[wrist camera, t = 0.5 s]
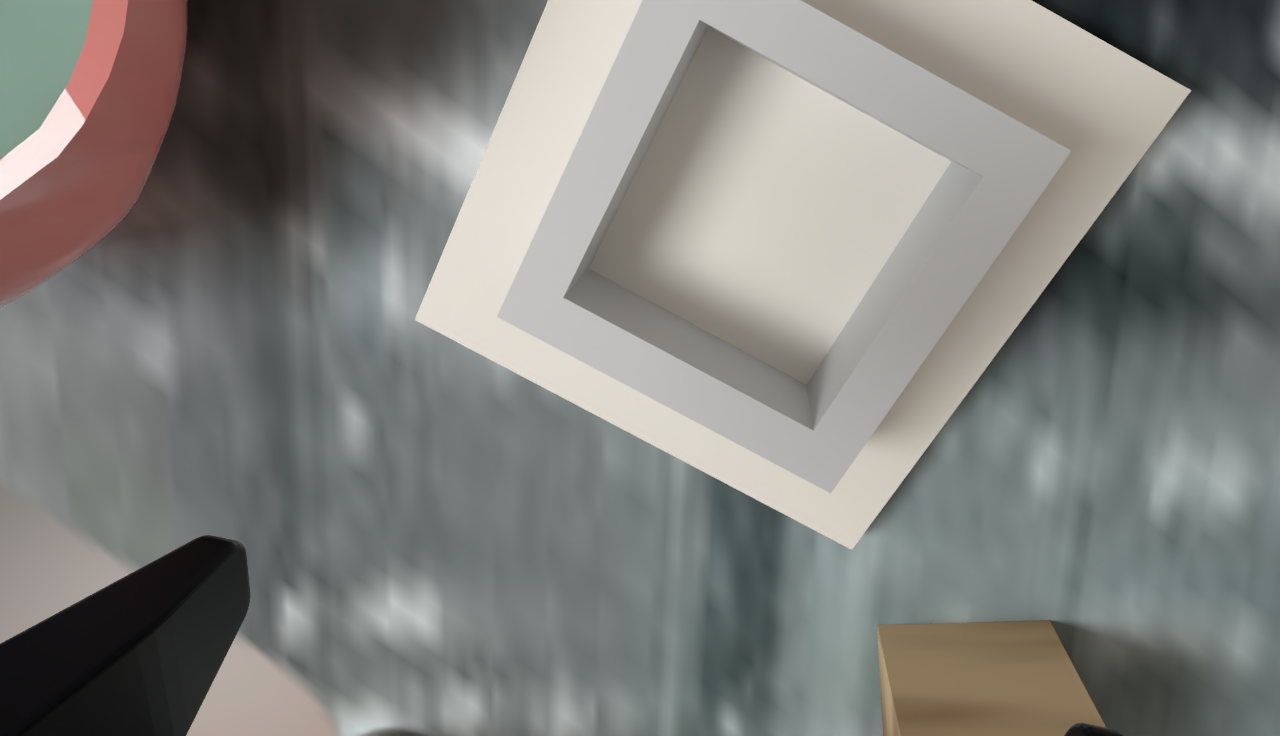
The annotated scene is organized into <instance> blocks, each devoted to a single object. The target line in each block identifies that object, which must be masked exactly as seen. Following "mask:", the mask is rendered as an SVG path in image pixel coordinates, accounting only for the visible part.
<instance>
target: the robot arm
mask: <svg viewBox="0 0 1280 736" xmlns="http://www.w3.org/2000/svg"><path fill="white" fill-rule="evenodd" d="M249 603H250V586H249V576H248V566H247V556H246V550H245V547H244V546H243V545H242V543H240V542H238V541H235V540H230V539H225V538H221V537H216V536H210V535H206V536H202V537H198V538H196V539H194V540H192V541H190V542H188V543H187V544H185V545H183V546H181V547H179V548H177V549H175V550H174V551H172V552H170V553H168V554H166V555H164V556H162V557H161V558H159V559H157V560H155V561H153V562H151V563H149V564H148V565H146V566H144V567H142V568H140V569H138V570H136V571H135V572H133V573H131V574H129V575H127V576H125V577H124V578H122V579H120V580H118V581H116V582H114V583H113V584H110V585H109V586H107V587H105V588H103V589H101V590H99V591H98V592H96V593H94V594H92V595H90V596H88V597H86V598H85V599H83V600H81V601H79V602H77V603H75V604H73V605H71V606H70V607H68V608H66V609H64V610H62V611H60V612H59V613H57V614H55V615H53V616H51V617H50V618H47V619H45V620H44V621H42V622H40V623H38V624H36V625H35V626H32V627H31V628H29V629H27V630H25V631H23V632H22V633H20V634H18V635H16V636H14V637H12V638H10V639H9V640H6V641H5V642H3V643H1V644H0V736H186V734H187V732H188V730H189V729H190V727H191V724H192V722H193V721H194V719H195V717H196V715H197V712H198V711H199V708H200V706H201V705H202V702H203V700H204V699H205V697H206V694H207V692H208V691H209V688H210V686H211V684H212V682H213V681H214V678H215V677H216V675H217V673H218V670H219V669H220V667H221V665H222V662H223V660H224V658H225V656H226V654H227V652H228V650H229V648H230V646H231V644H232V642H233V640H234V638H235V636H236V634H237V632H238V630H239V628H240V626H241V624H242V622H243V620H244V618H245V616H246V613H247V611H248V607H249ZM1064 736H1122V735H1121V734H1120V733H1118V732H1117V731H1115V730H1112V729H1109V728H1105V727H1100V726H1095V725H1091V724H1086V723H1077V724H1075V725H1073V726H1071V727H1070V728H1069V729H1068V731H1067V732H1066V733H1065V735H1064Z"/></svg>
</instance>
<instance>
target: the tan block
mask: <svg viewBox="0 0 1280 736" xmlns="http://www.w3.org/2000/svg"><path fill="white" fill-rule="evenodd" d="M877 630H878V649H879V667H880V686H881V705H882V723H883V736H1064V735H1065V733H1066V732H1067V731H1068V729H1069V728H1070V727H1071V726H1073V725H1075V724H1077V723H1086V724H1091V725H1095V726H1100V727H1105V728H1106V726H1105V724H1104V723H1103V721H1102V719H1101V717H1100V715H1099V713H1098V711H1097V709H1096V707H1095V705H1094V704H1093V702H1092V700H1091V698H1090V696H1089V694H1088V692H1087V690H1086V688H1085V687H1084V685H1083V683H1082V681H1081V679H1080V677H1079V675H1078V673H1077V671H1076V670H1075V668H1074V666H1073V664H1072V662H1071V660H1070V658H1069V656H1068V654H1067V652H1066V651H1065V649H1064V647H1063V645H1062V643H1061V641H1060V639H1059V637H1058V635H1057V634H1056V632H1055V630H1054V628H1053V626H1052V624H1051V622H1050V620H1040V621H1006V622H971V623H937V624H902V625H877Z"/></svg>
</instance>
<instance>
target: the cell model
mask: <svg viewBox="0 0 1280 736" xmlns="http://www.w3.org/2000/svg"><path fill="white" fill-rule="evenodd" d="M187 14H188V2H187V0H0V308H1V307H3V306H4V305H6V304H8V303H10V302H12V301H14V300H16V299H18V298H20V297H21V296H23V295H25V294H26V293H28V292H29V291H31V290H32V289H34V288H35V287H37V286H38V285H40V284H41V283H43V282H44V281H46V280H47V279H49V278H50V277H52V276H53V275H55V274H56V273H58V272H59V271H60V270H62V269H63V268H65V267H66V266H68V265H69V264H70V263H72V262H73V261H75V260H76V259H78V258H79V257H80V256H81V255H83V254H84V253H85V252H86V251H88V250H89V249H90V248H91V247H92V246H94V245H95V244H96V243H97V242H98V241H100V240H101V239H102V238H103V237H104V236H106V235H107V234H108V233H109V232H110V231H112V230H113V229H114V228H115V227H116V226H117V225H118V224H119V223H120V222H121V221H122V220H123V219H124V218H125V217H126V216H127V214H128V213H129V211H130V210H131V208H132V207H133V205H134V204H135V202H136V201H137V199H138V197H139V196H140V194H141V192H142V190H143V188H144V186H145V184H146V182H147V180H148V177H149V175H150V172H151V170H152V167H153V165H154V162H155V160H156V157H157V155H158V152H159V150H160V147H161V145H162V142H163V140H164V137H165V135H166V132H167V130H168V127H169V125H170V121H171V118H172V115H173V112H174V109H175V105H176V102H177V97H178V91H179V86H180V81H181V75H182V69H183V62H184V55H185V49H186V42H187Z"/></svg>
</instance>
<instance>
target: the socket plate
mask: <svg viewBox="0 0 1280 736" xmlns="http://www.w3.org/2000/svg"><path fill="white" fill-rule="evenodd" d="M1190 92H1191V90H1190V89H1188V88H1186V87H1184V86H1183V85H1181V84H1179V83H1177V82H1175V81H1174V80H1172V79H1170V78H1168V77H1167V76H1165V75H1163V74H1161V73H1159V72H1158V71H1156V70H1154V69H1152V68H1151V67H1149V66H1147V65H1145V64H1144V63H1142V62H1140V61H1138V60H1136V59H1135V58H1133V57H1131V56H1129V55H1128V54H1126V53H1124V52H1122V51H1120V50H1119V49H1117V48H1115V47H1113V46H1112V45H1110V44H1108V43H1106V42H1105V41H1103V40H1101V39H1099V38H1097V37H1096V36H1094V35H1092V34H1090V33H1089V32H1087V31H1085V30H1083V29H1081V28H1080V27H1078V26H1076V25H1074V24H1073V23H1071V22H1069V21H1067V20H1065V19H1064V18H1062V17H1060V16H1058V15H1057V14H1055V13H1053V12H1051V11H1050V10H1048V9H1046V8H1044V7H1042V6H1041V5H1039V4H1037V3H1035V2H1034V1H1032V0H548V2H547V4H546V7H545V9H544V12H543V14H542V16H541V19H540V21H539V24H538V26H537V28H536V31H535V33H534V35H533V38H532V40H531V43H530V45H529V47H528V50H527V52H526V55H525V57H524V59H523V62H522V64H521V67H520V69H519V71H518V74H517V76H516V79H515V81H514V83H513V86H512V88H511V91H510V93H509V95H508V98H507V100H506V103H505V105H504V107H503V110H502V112H501V114H500V117H499V119H498V122H497V124H496V126H495V129H494V131H493V134H492V136H491V138H490V141H489V143H488V146H487V148H486V150H485V153H484V155H483V158H482V160H481V162H480V165H479V167H478V170H477V172H476V174H475V177H474V179H473V182H472V184H471V186H470V189H469V191H468V193H467V196H466V198H465V201H464V203H463V205H462V208H461V210H460V213H459V215H458V217H457V220H456V222H455V225H454V227H453V229H452V232H451V234H450V237H449V239H448V241H447V244H446V246H445V249H444V251H443V253H442V256H441V258H440V261H439V263H438V265H437V268H436V270H435V272H434V275H433V277H432V280H431V282H430V284H429V287H428V289H427V292H426V294H425V296H424V299H423V301H422V304H421V306H420V308H419V311H418V313H417V316H416V318H415V320H416V321H418V322H420V323H422V324H424V325H426V326H428V327H430V328H431V329H433V330H435V331H437V332H439V333H441V334H443V335H445V336H447V337H449V338H450V339H452V340H454V341H456V342H458V343H460V344H462V345H464V346H466V347H468V348H469V349H471V350H473V351H475V352H477V353H479V354H481V355H483V356H485V357H486V358H488V359H490V360H492V361H494V362H496V363H498V364H500V365H502V366H504V367H505V368H507V369H509V370H511V371H513V372H515V373H517V374H519V375H521V376H523V377H524V378H526V379H528V380H530V381H532V382H534V383H536V384H538V385H540V386H542V387H543V388H545V389H547V390H549V391H551V392H553V393H555V394H557V395H559V396H561V397H562V398H564V399H566V400H568V401H570V402H572V403H574V404H576V405H578V406H580V407H581V408H583V409H585V410H587V411H589V412H591V413H593V414H595V415H597V416H599V417H600V418H602V419H604V420H606V421H608V422H610V423H612V424H614V425H616V426H618V427H619V428H621V429H623V430H625V431H627V432H629V433H631V434H633V435H635V436H637V437H638V438H640V439H642V440H644V441H646V442H648V443H650V444H652V445H654V446H656V447H657V448H659V449H661V450H663V451H665V452H667V453H669V454H671V455H673V456H675V457H676V458H678V459H680V460H682V461H684V462H686V463H688V464H690V465H692V466H694V467H695V468H697V469H699V470H701V471H703V472H705V473H707V474H709V475H711V476H713V477H714V478H716V479H718V480H720V481H722V482H724V483H726V484H728V485H730V486H732V487H733V488H735V489H737V490H739V491H741V492H743V493H745V494H747V495H749V496H751V497H752V498H754V499H756V500H758V501H760V502H762V503H764V504H766V505H768V506H770V507H771V508H773V509H775V510H777V511H779V512H781V513H783V514H785V515H787V516H789V517H790V518H792V519H794V520H796V521H798V522H800V523H802V524H804V525H806V526H808V527H809V528H811V529H813V530H815V531H817V532H819V533H821V534H823V535H825V536H827V537H828V538H830V539H832V540H834V541H836V542H838V543H840V544H842V545H844V546H846V547H847V548H849V549H851V550H852V549H853V548H854V546H855V545H856V544H857V542H858V541H859V539H860V538H861V537H862V535H863V534H864V533H865V531H866V530H867V529H868V527H869V526H870V525H871V523H872V522H873V521H874V519H875V518H876V516H877V515H878V514H879V512H880V511H881V510H882V508H883V507H884V506H885V504H886V503H887V502H888V500H889V499H890V498H891V496H892V495H893V493H894V492H895V491H896V489H897V488H898V487H899V485H900V484H901V483H902V481H903V480H904V479H905V477H906V476H907V475H908V473H909V472H910V470H911V469H912V468H913V466H914V465H915V464H916V462H917V461H918V460H919V458H920V457H921V456H922V454H923V453H924V452H925V450H926V449H927V447H928V446H929V445H930V443H931V442H932V441H933V439H934V438H935V437H936V435H937V434H938V433H939V431H940V430H941V429H942V427H943V426H944V424H945V423H946V422H947V420H948V419H949V418H950V416H951V415H952V414H953V412H954V411H955V410H956V408H957V407H958V406H959V404H960V403H961V401H962V400H963V399H964V397H965V396H966V395H967V393H968V392H969V391H970V389H971V388H972V387H973V385H974V384H975V383H976V381H977V380H978V378H979V377H980V376H981V374H982V373H983V372H984V370H985V369H986V368H987V366H988V365H989V364H990V362H991V361H992V360H993V358H994V357H995V355H996V354H997V353H998V351H999V350H1000V349H1001V347H1002V346H1003V345H1004V343H1005V342H1006V341H1007V339H1008V338H1009V337H1010V335H1011V334H1012V332H1013V331H1014V330H1015V328H1016V327H1017V326H1018V324H1019V323H1020V322H1021V320H1022V319H1023V318H1024V316H1025V315H1026V314H1027V312H1028V311H1029V309H1030V308H1031V307H1032V305H1033V304H1034V303H1035V301H1036V300H1037V299H1038V297H1039V296H1040V295H1041V293H1042V292H1043V291H1044V289H1045V288H1046V286H1047V285H1048V284H1049V282H1050V281H1051V280H1052V278H1053V277H1054V276H1055V274H1056V273H1057V272H1058V270H1059V269H1060V268H1061V266H1062V265H1063V263H1064V262H1065V261H1066V259H1067V258H1068V257H1069V255H1070V254H1071V253H1072V251H1073V250H1074V249H1075V247H1076V246H1077V245H1078V243H1079V242H1080V240H1081V239H1082V238H1083V236H1084V235H1085V234H1086V232H1087V231H1088V230H1089V228H1090V227H1091V226H1092V224H1093V223H1094V222H1095V220H1096V219H1097V217H1098V216H1099V215H1100V213H1101V212H1102V211H1103V209H1104V208H1105V207H1106V205H1107V204H1108V203H1109V201H1110V200H1111V199H1112V197H1113V196H1114V194H1115V193H1116V192H1117V190H1118V189H1119V188H1120V186H1121V185H1122V184H1123V182H1124V181H1125V180H1126V178H1127V177H1128V176H1129V174H1130V173H1131V171H1132V170H1133V169H1134V167H1135V166H1136V165H1137V163H1138V162H1139V161H1140V159H1141V158H1142V157H1143V155H1144V154H1145V153H1146V151H1147V150H1148V148H1149V147H1150V146H1151V144H1152V143H1153V142H1154V140H1155V139H1156V138H1157V136H1158V135H1159V134H1160V132H1161V131H1162V130H1163V128H1164V127H1165V125H1166V124H1167V123H1168V121H1169V120H1170V119H1171V117H1172V116H1173V115H1174V113H1175V112H1176V111H1177V109H1178V108H1179V107H1180V105H1181V104H1182V102H1183V101H1184V100H1185V98H1186V97H1187V96H1188V94H1189V93H1190Z"/></svg>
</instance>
